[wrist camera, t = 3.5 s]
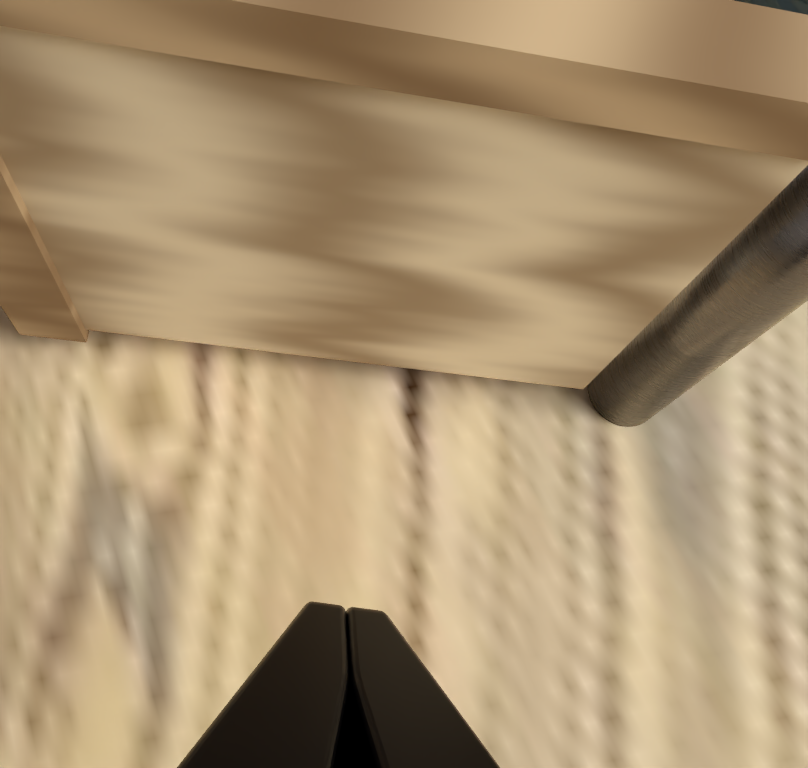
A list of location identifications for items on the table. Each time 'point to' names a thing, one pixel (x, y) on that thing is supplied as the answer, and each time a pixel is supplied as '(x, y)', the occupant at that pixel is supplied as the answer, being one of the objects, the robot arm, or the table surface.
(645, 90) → the gate
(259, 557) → the table surface
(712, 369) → the hinge post
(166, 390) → the table surface
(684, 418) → the table surface
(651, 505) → the table surface
